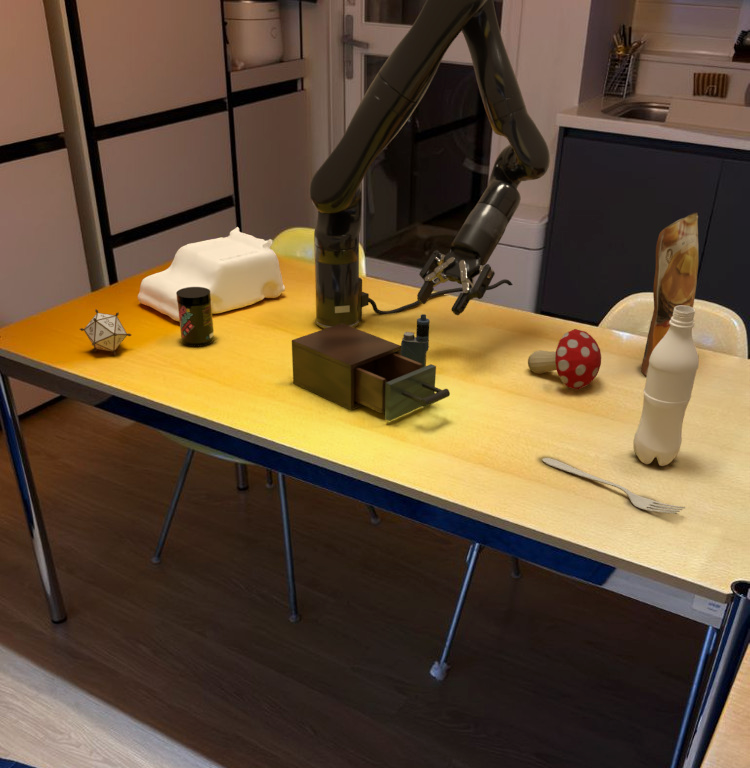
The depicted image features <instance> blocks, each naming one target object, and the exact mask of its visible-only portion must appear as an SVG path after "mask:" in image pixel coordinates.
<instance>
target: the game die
mask: <svg viewBox="0 0 750 768" xmlns="http://www.w3.org/2000/svg"><path fill="white" fill-rule="evenodd" d="M94 311H95V315H94V316H93V317H92V318H91V319H90V321H88V323H87V325H86V326H85V327H84V328H83V327H80V328H79V330H80V331H81V332H82V331H83V332H84V333H85V334H86V336H87V338H88V340H89V342H90V343H91V346H93V349H92V352H96V351H97V350H100V351H107V352H112V354H113V355H114V356H117V352H116V351H117V349H118V348H119V347H120V346H121V344H122V343H123V342H124V340H125V338H127V336H128V337H131V336H132V334H131V333H127V331H126V329H125V327H124V325H123V324H122V322H121V320H120V319H119V317H118V316H119V311H118V312H115V314H110V313H102V312H99V309H97V308H95V309H94Z"/></svg>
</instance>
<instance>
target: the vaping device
mask: <svg viewBox="0 0 750 768" xmlns="http://www.w3.org/2000/svg"><path fill="white" fill-rule="evenodd" d="M400 342H401V343H400V346H401V356H404V357H406V358H409V359H411V360H414V361H416V362H419V363H422V364H423V367H425V366H427V354H428V353H427V352H428V351H429V348H430V318H427V315H426V314H424V313H422V314H420V317H418V318H417V319H416V335H415V333H414V332H413V331H405V332H404V333H403V337H402V340H401V341H400Z"/></svg>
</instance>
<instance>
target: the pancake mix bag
mask: <svg viewBox="0 0 750 768" xmlns="http://www.w3.org/2000/svg"><path fill="white" fill-rule="evenodd" d="M698 214H699V212H697V211H696V212H693V213H691V214H689V215H687V216H685V217H682V218H680V219H678V220H676V221H674V222H672V223H671V224H669V225H667V226H666V227H664V228H663V229H662V230H661V231H660V232H659V234H658V238H657V240H656V246H655V273H654V278H653V286H652V287H653V288H652V289H653V293H652V294H653V295H652V296H653V311H652V317H651V321H650V324H649V329H648V333H647V338H646V343H645V348H644V352H643V358H642V361H641V366H640V372H641V373H642V374H643V375H644V376H646V377H647V373H648V368H649V359H650V356H651V353H652V351H653V350H654V348H655V347H656V346H657V344H658V343H659V342H660V341H661V340H662V338H663V337H664V336H665V335H666V333H667V332H668V330H669V328H670V324H669V321H670V320H671V317H672V316H673V311H674V308H675V307H676V306H689V307H692V308H694V304H695V299H696V298H695V297H696V291H697V285H698V284H697V283H698V272H699V249H700V248H699V245H700V244H699V215H698Z"/></svg>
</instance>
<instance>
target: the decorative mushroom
mask: <svg viewBox="0 0 750 768" xmlns="http://www.w3.org/2000/svg"><path fill="white" fill-rule="evenodd" d="M557 343H558V344H557V345H556V346H557V347H556V350H554V351H549V350H542V349H539V350H535V351H533V352H532V353H531V354H530V355H529V356H528V358H527V367H528V369H529V370H530V371H532V372H533V373H534V374H545V373H549V372H552V371H556V373H557V375H558V378H560V381H561V382H562V383H563V385H565V386H566V387H567V388H569V389H572V390H577V391H578V390H580V389H584V387H587V386H589V385H590V384H591V383H592V382H593V381H594V380H595V378H596V377H597V375H598V374H599V372H600V368H601V366H602V365H601V364H602V352H601V348H600V346H599V344H598V343H597V341H596V339H594V337H593V336H592V335H591V334H590V333H588V332H587V331H584V330H581V329H577V328H573V329H572V330H568V331H567V332H565V333H564V334H563V335H562V337H561V338H560V339H559V341H558V342H557Z"/></svg>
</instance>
